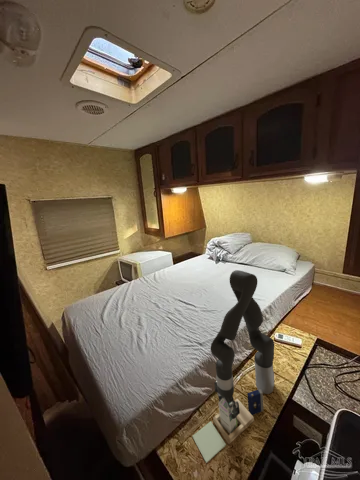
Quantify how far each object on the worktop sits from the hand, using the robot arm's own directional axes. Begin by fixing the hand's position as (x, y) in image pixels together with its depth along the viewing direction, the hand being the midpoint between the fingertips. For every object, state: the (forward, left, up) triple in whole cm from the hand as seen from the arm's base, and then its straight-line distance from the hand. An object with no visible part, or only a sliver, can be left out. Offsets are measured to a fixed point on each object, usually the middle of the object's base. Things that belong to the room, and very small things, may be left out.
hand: (227, 409), depth 92 cm
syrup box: (0, 0, -11) cm, 11 cm away
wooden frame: (-3, 0, -10) cm, 11 cm away
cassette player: (-16, +3, -11) cm, 19 cm away
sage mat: (+12, -1, -10) cm, 16 cm away
